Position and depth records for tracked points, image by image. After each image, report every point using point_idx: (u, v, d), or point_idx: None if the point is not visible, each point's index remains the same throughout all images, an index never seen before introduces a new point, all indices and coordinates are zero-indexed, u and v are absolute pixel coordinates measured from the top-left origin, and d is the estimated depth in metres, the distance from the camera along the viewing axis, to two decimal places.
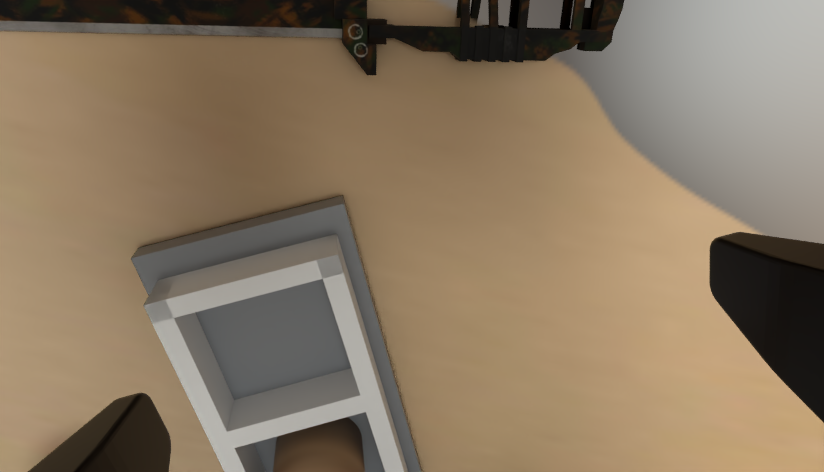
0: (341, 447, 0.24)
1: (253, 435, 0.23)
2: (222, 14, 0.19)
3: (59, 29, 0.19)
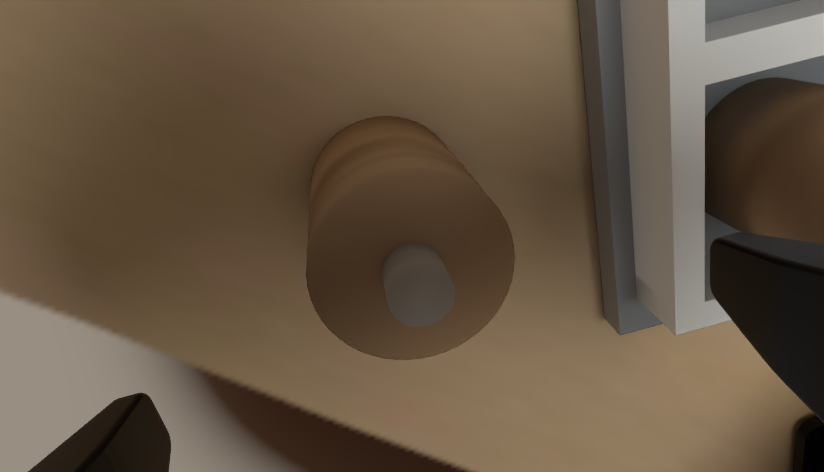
0: None
1: (745, 57, 0.12)
2: None
3: None
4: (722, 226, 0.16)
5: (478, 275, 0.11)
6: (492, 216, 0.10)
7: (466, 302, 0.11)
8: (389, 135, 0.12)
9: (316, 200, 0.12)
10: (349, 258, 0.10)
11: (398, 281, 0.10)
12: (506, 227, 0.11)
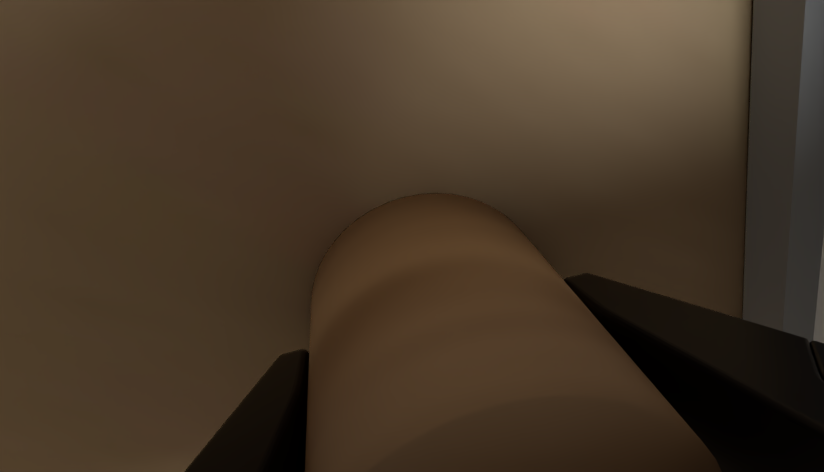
0: None
1: None
2: None
3: None
4: None
5: None
6: (697, 469, 0.05)
7: None
8: (453, 251, 0.07)
9: (321, 388, 0.06)
10: None
11: None
12: None
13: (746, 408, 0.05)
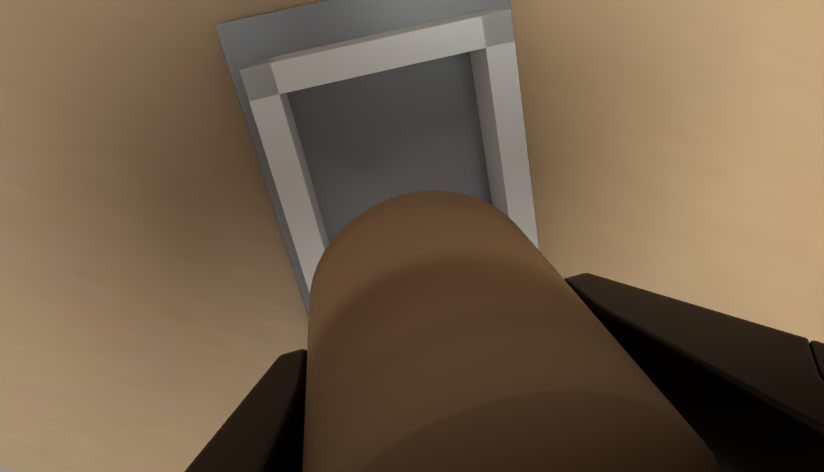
0: None
1: None
2: None
3: None
4: None
5: None
6: (695, 465, 0.05)
7: None
8: (451, 247, 0.07)
9: (319, 385, 0.06)
10: None
11: None
12: None
13: (746, 408, 0.05)
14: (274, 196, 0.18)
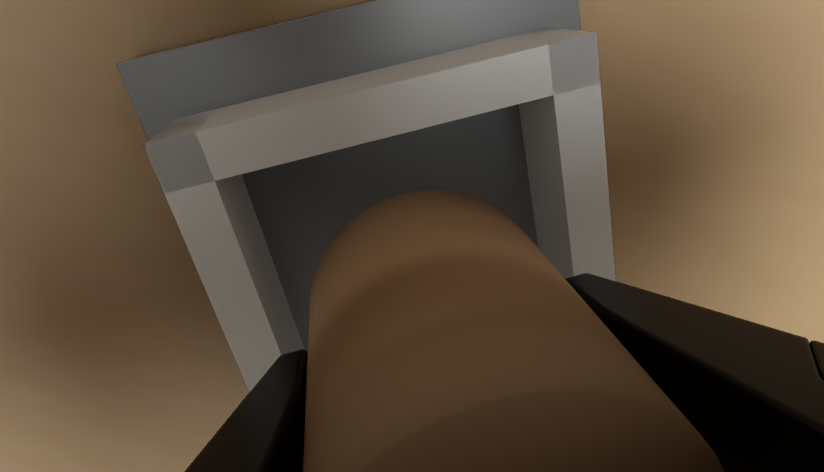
0: None
1: None
2: None
3: None
4: None
5: None
6: (697, 464, 0.05)
7: None
8: (452, 246, 0.07)
9: (319, 384, 0.06)
10: None
11: None
12: None
13: (746, 408, 0.05)
14: None
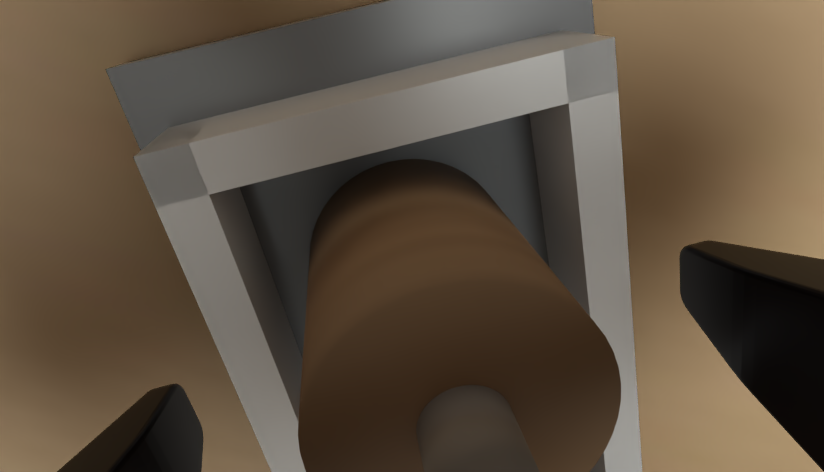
0: None
1: None
2: None
3: None
4: None
5: (564, 427, 0.07)
6: (592, 343, 0.07)
7: (543, 464, 0.07)
8: (422, 197, 0.09)
9: (316, 298, 0.08)
10: (367, 409, 0.07)
11: (449, 470, 0.06)
12: (612, 359, 0.07)
13: None
14: None
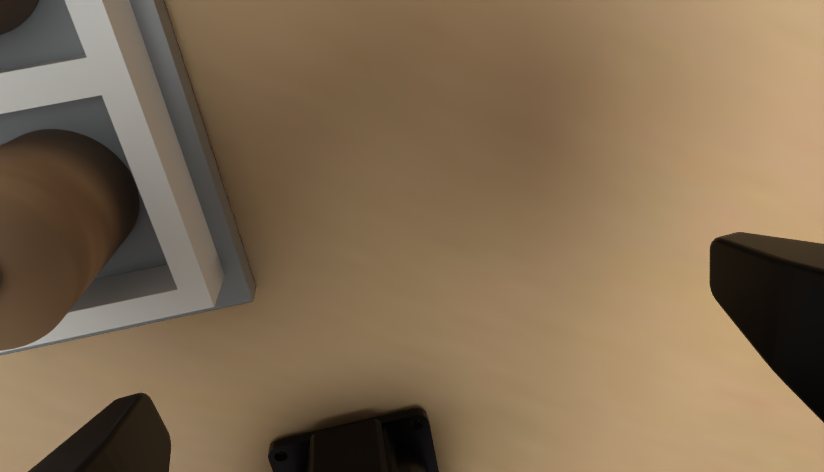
0: (62, 160, 0.14)
1: None
2: None
3: None
4: None
5: None
6: None
7: None
8: None
9: None
10: None
11: None
12: None
13: None
14: None
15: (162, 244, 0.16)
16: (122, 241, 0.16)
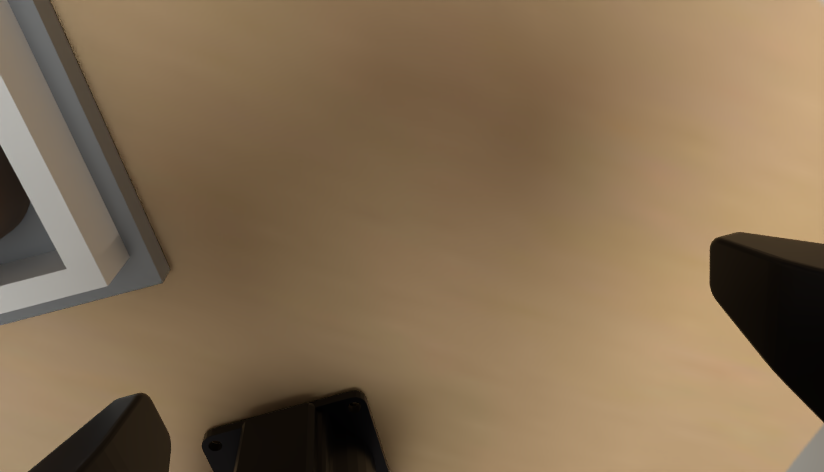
0: None
1: None
2: None
3: None
4: None
5: None
6: None
7: None
8: None
9: None
10: None
11: None
12: None
13: None
14: None
15: (45, 221, 0.15)
16: (9, 222, 0.16)
